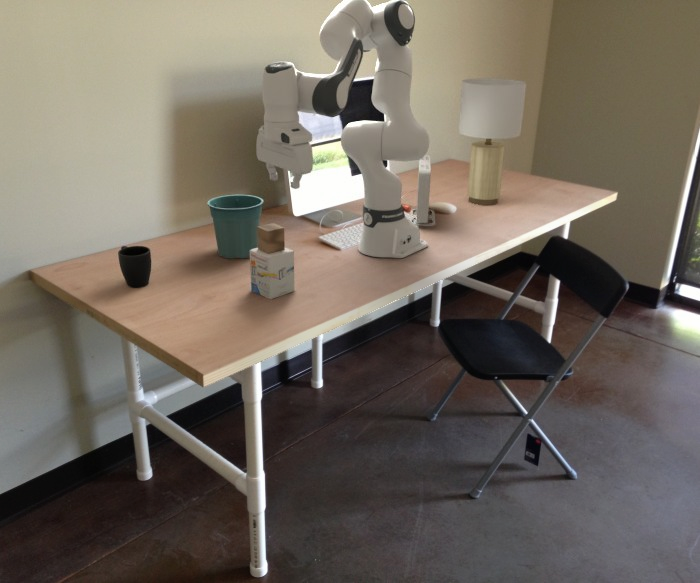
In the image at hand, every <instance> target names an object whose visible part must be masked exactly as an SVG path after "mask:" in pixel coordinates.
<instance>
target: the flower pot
mask: <svg viewBox="0 0 700 583" xmlns="http://www.w3.org/2000/svg"><path fill="white" fill-rule="evenodd" d="M263 204H264V199H263V198H261V197H259V196H256V195H249V194H230V195H229V194H227V195H221V196H217V197H213V198H211V199H209V200H208V201H207V206H208V207H209V211H210V212H209V213H210V216H211V218H212V222H213V228H214V229H213V230H214V234H215V240H216V247H217V248H216V249H217V252H218V255H219V256H221V257H222V258H225V259H231V260H232V259H236V258H239V259H247V258H248V259H249V258H250V251H249V250H252V249H255V248H258V241H257V226H261V225H260V224H261V223H260V222H261V215H262V208H263V207H262V206H263Z"/></svg>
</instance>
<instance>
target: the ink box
mask: <svg viewBox="0 0 700 583" xmlns="http://www.w3.org/2000/svg"><path fill="white" fill-rule="evenodd" d="M249 251H250V257H249V264H250V265H249V268H250V269H249V270H250V284H251V285H250V286H251V287H250V288H251V289H250V290H251V291H252V292H254V293H256V294H258V295H261V296H263V297H265V298H267V299H269V300H273V299H275V298H279V297H282V296H284V295H286V294H289V293H293V292H295V291H296V290H295V289H296V286H295V251H294V250H292V249H291V248H289V247H286V246H285V250H282V251H278V252H274V253H270V254H267V253H265V252H263V251H261V250H259V249H258V248H255V249H252V250H249Z"/></svg>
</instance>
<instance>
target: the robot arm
mask: <svg viewBox="0 0 700 583" xmlns="http://www.w3.org/2000/svg"><path fill="white" fill-rule="evenodd" d="M415 22H416V18H415V13H414V10H413V8H412V7H411V6H410V4H409V3H408V2H407V1H405V0H389V1H388V2H384V3H381V4H379V5H376V6H371V4H370V3H369V1H367V0H343V1H341V3H339V4H338V5H337V6H335V8H334V9H333V11H332V12H331V13H330V14H329V15H328V16H327V18H326V19H325V20H324V22H323V23H322V25H321V27H320V31H319V41H320V44H321V47H322V49H323V50H324V52H325V53H326V54H327V55H328V57H330V58H331V59H332V60H335V61H337V62H338V63H337V65H336V67H335V70H334V72H331V73H327V74H318V73H307V72H302V71H299V70H298V69H296V66H295V65H294V63H293V62H290V61H277V62H272V63H270V64H268V65H266V66H265V68H264V70H263V74H262V83H261V85H262V87H261V88H262V89H261V91H262V104H263V106H264V107H263V108H264V114H263V125H260V127H259V129H258V134H257V136H256V147H255V148H256V153H255V154H256V157H257V160H258V161H260V162H263V163H265V167H266V169H267V171H268V173H269V180H271V181H273V182H274V181H275V182H276V181H278V180H279V173H278V172H277V169H276V168H280V169H283V170H286V171H288V172H290V173H291V174H292V178H293V179H292V180H291V181H290V187H291V188H292V189H294V190H297V189H300V186H301V184H300V182H301V180H302V178H303V175H308V174H310V173H312V171H313V168H314V167H313V166H314V158H313V157H314V156H313V155H314V154H313V148H312V144H311V143H310V142H312V141H313V134H312V132H310V131H309V130H308V129H306V127H304V126H303V124H302V123H301V122H300V115H299V113H298V112H300V113H305V114H306V113H307V114H313V115H314V114H315V115H319V116H323V117H328V118H335V117H337V116H338V115H339V114H340V113H341V112H343V111H344V110H345V108H346V106H347V103H348V102H349V101H348V100H349V95H350V90H351V89H352V85H354V84H353V83H354V82H355V78H356V76H357V74H358V71H359V69H360V67H361V63H362V61H363V58H364V53H367V52H371V51H373V50H376V53H377V60H376V65H375V69H374V76H373V83H372V91H371V92H372V93H371V97H370V98H371V103H372V105H373V106H374V108H375V109H376V110H378V111H379V113H382V114H384V115H385V116H387V117H388V118H389V119H388V120H387V121H379V120H377V121H376V120H359V121H352V122H349V123H348V124H346V125H345V126H344V128H343V129H342V132H341V134H340V145H341V147H342V150H343V152H344V153H345V154H346V155H347V156H348V158H350V159H351V160H352V161H353V162H354V163H355V164H356V166H357V168H358V169H359V171H360V173H361V175H362V179H363V187H364V188H363V190H364V203H363V205H362V221H363V223H362V230H361V235H360V239H359V245H358V248H357V250H358V251H359V253H361V254H363V255H366V256H369V257H374V258H394V259H402V258H403V259H404V258H406V257H408V256H409V255H412V254H414V253H416V252H418V251H420V250H421V251H422V250H423V249H425V248H427V247H428V242H427V241H426V240H424V239H422V238H421V231H420V228H419V226H417V225H416V224H414V223H415V222H414V221H413V222H412V221H410V218H408V217H407V216H406V215H405V213H408V214H410V212H411V210H412V207H411V206H410V205H407V204H405V205H402V194H403V193H402V188H403V184H402V181H401V179H400V177H399V176H398V175H397V174H395V172H392V171H391V170H389V169H387V168H386V166H385V164H384V161H392V162H404V163H405V162H412V161H419V160H420V159H422V158H423V157H424V155H427V152H428V150H429V148H430V137H429V136H430V135H429V133H428V132H427V130H426V129H425V127H424V125H422V124H421V123H419V121H418V120H417V119H416V118H415V117H414V116H415V115H414V113H413V112H412V109H411V88H412V87H411V86H412V80H413V79H412V76H413V54H412V50H411V48H410V46H409V45H408V44H410V42H411V41H412V38H413V33H414V30H415Z"/></svg>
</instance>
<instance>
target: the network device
mask: <svg viewBox="0 0 700 583" xmlns="http://www.w3.org/2000/svg"><path fill="white" fill-rule="evenodd" d="M431 172H432V169H431V156H430V155H427V154H425V155H424V157H423V158H422V159H420V160H418V175H417V177H418V178H417V193H416V195H417V196H416V208H413V209H412V208H411V212H410V213H409V214H411V215H413V216H415V217H417V219H416V223H418V224H416V225H418V227H434V226H436V216H435V211H434V210H433V209H430V208H429V207H430V205H429V204H430V192H431V190H430V189H431V174H432V173H431ZM432 210H433V211H432ZM413 211H414V212H416V214H414V212H413ZM428 211H431V212H432V213H431V212H430V213H431V215H429V212H428ZM428 219H431V220H430V221H431V223H428V222H429V220H428ZM433 225H434V226H433Z"/></svg>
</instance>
